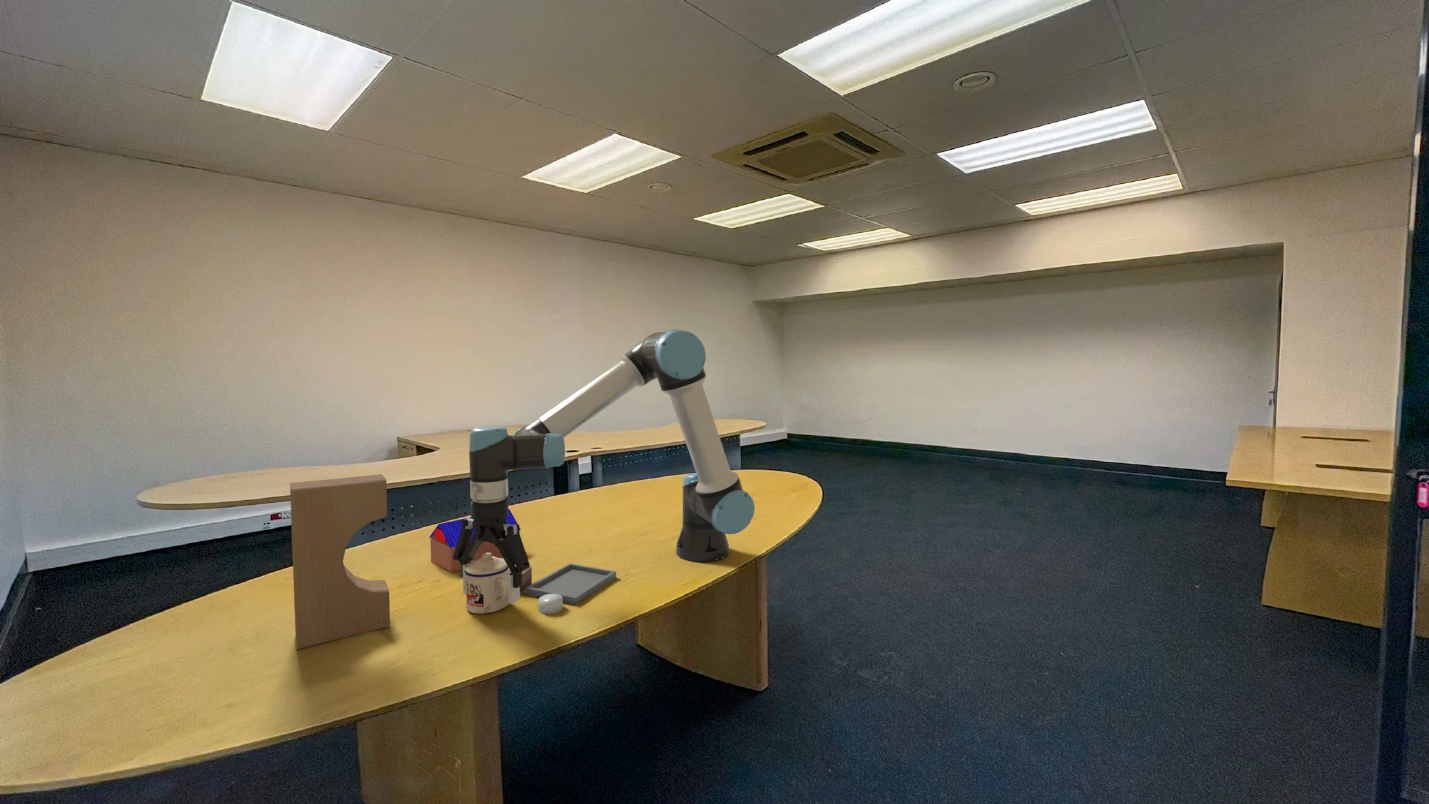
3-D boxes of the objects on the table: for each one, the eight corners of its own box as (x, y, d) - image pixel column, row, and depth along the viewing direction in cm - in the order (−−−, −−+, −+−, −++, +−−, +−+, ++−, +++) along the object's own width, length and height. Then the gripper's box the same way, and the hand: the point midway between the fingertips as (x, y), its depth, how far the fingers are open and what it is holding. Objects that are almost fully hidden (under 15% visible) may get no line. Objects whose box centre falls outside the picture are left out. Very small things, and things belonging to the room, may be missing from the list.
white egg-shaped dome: (567, 606, 119) (567, 596, 119) (552, 616, 115) (552, 605, 114) (548, 602, 121) (548, 592, 121) (533, 611, 116) (533, 601, 116)
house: (521, 552, 153) (521, 512, 152) (450, 573, 137) (449, 528, 136) (498, 543, 160) (498, 505, 159) (429, 562, 145) (428, 519, 144)
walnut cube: (531, 584, 130) (531, 566, 130) (523, 592, 126) (523, 573, 126) (514, 583, 131) (513, 565, 131) (504, 591, 126) (504, 572, 126)
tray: (616, 577, 135) (616, 571, 135) (575, 605, 120) (575, 598, 120) (569, 569, 140) (569, 563, 140) (524, 594, 125) (524, 587, 125)
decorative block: (296, 650, 99) (290, 490, 97) (295, 634, 105) (289, 482, 103) (390, 627, 108) (386, 480, 106) (385, 613, 114) (381, 473, 112)
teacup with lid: (457, 607, 117) (455, 554, 117) (495, 593, 125) (494, 544, 124) (487, 623, 110) (486, 567, 109) (526, 607, 118) (525, 555, 117)
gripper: (433, 497, 117) (435, 594, 118) (522, 508, 108) (523, 613, 110) (460, 489, 124) (462, 581, 125) (546, 500, 115) (547, 598, 117)
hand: (491, 596), depth 117 cm, fingers closed on teacup with lid, 12 cm apart
